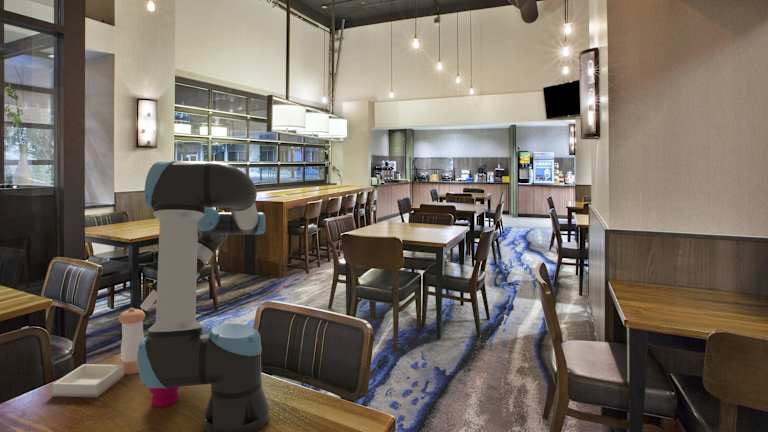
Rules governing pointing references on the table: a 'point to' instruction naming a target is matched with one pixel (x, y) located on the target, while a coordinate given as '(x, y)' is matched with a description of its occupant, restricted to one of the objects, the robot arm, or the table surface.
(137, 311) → the pepper shaker
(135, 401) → the table surface
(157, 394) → the pepper mill
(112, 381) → the tray
